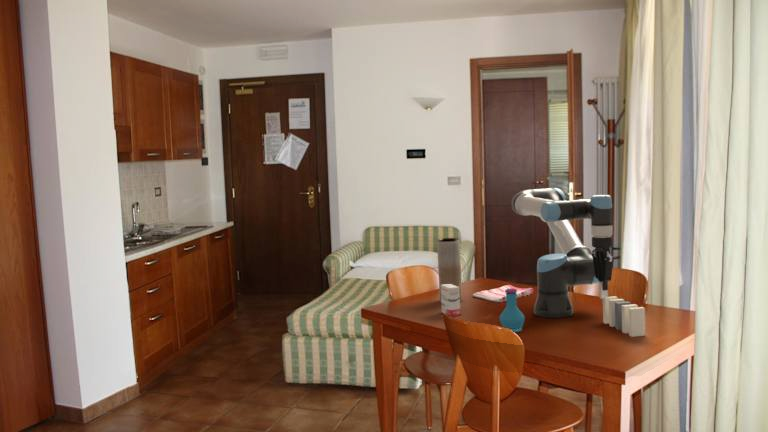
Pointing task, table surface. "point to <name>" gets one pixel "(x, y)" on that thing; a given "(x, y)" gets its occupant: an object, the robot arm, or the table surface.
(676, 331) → the table surface
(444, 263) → the vase
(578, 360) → the table surface
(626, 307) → the domino
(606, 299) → the domino head
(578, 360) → the table surface
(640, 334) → the domino tail
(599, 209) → the robot arm
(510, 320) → the perfume bottle
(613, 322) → the domino
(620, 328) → the domino
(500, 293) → the dish towel
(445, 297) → the ink box
